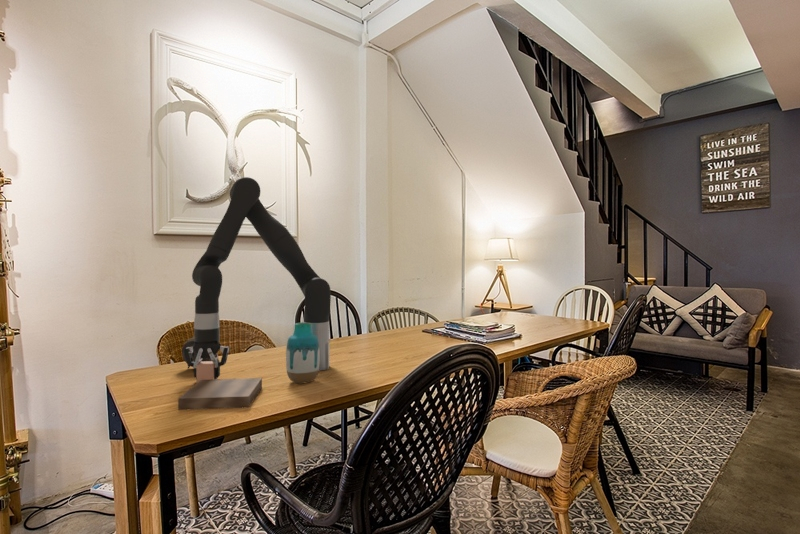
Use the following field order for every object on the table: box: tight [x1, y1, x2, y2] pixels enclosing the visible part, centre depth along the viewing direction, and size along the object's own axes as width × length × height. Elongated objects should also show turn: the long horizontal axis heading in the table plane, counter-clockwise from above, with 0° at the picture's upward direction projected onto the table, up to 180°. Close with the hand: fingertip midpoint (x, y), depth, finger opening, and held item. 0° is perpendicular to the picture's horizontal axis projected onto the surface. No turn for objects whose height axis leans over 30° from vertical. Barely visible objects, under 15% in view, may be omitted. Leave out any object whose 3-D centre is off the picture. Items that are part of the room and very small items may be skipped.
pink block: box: [195, 361, 215, 384], centre depth 141 cm, size 5×5×6 cm
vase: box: [285, 321, 320, 384], centre depth 141 cm, size 11×11×19 cm
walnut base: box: [177, 377, 263, 411], centre depth 124 cm, size 18×18×3 cm
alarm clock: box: [181, 336, 212, 369], centre depth 156 cm, size 11×5×16 cm, turn 84°
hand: (207, 378), depth 141 cm, fingers closed on pink block, 5 cm apart
